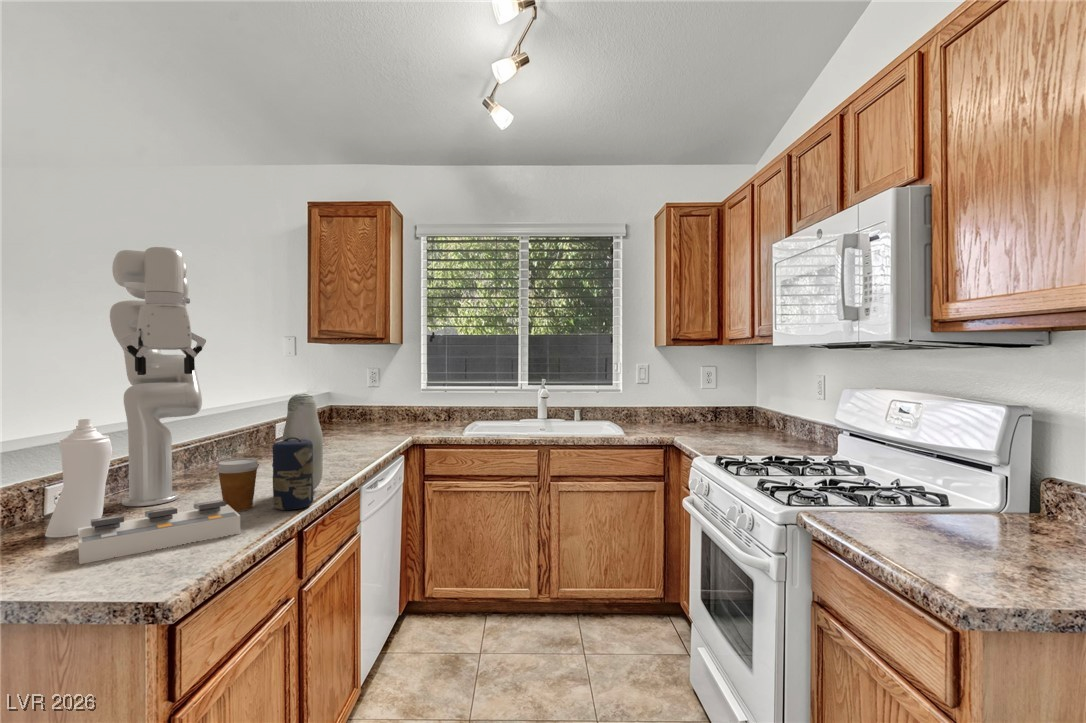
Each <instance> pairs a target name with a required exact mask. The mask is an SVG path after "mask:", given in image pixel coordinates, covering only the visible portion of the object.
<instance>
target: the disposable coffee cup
mask: <svg viewBox="0 0 1086 723" xmlns="http://www.w3.org/2000/svg"><path fill="white" fill-rule="evenodd" d="M259 467H260V464H259V463H258V460H257V459H256V458H248V457H247V458H246V457H245V458H243V457H242V458H234V459H227V460H222V461H220V462H218V464H217V467H216V471H217V473H218V478H219V485H220V490H221V497H222V501H226V505H229V506H230V507H231V508H232V509H234V510H235V511H236V512H242V511H241V510H243V511H247V510H251V508H253V506H254V494H255V487H256V480H257V479H256V478H257V472H258V468H259Z"/></svg>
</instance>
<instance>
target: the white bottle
mask: <svg viewBox="0 0 1086 723" xmlns="http://www.w3.org/2000/svg"><path fill="white" fill-rule="evenodd" d="M77 424H78V425H76V426H75V428H74V429H73V430H72V433H70V434H69V435H67V436H66V437H63V438H60V439H59V441H60V442H59V443H58V446H59V449H60V450H59V451H60V454H61V455H60V456H61V465H62V466H61V468H62V469H61V470H62V481H63V488H62V490H61V492H60V495H59V496H58V498H57V499H58V500H57V502H56V505H55V507H54V510H53V512H52V515H51V517H50V520H49V522H48V525H47V529H46V531H45V533H44V536H45V537H46V538H67V537H74V536H78V528H82V527H88V526H91V519H98V518H103V515H104V513H103V512H104V504H105V493H106V484H107V483H106V482H107V478H108V474H109V470H110V465H111V459H112V455H113V446H112V441H111V439H110V435H107V434H102V433H101V432H99V431H97V430H98V429H97V428H96V427H94V425H93V424H92V419H91V418H85V419H82V418H81V419H78V420H77Z"/></svg>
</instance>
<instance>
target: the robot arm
mask: <svg viewBox="0 0 1086 723" xmlns="http://www.w3.org/2000/svg"><path fill="white" fill-rule="evenodd" d="M111 268H112V270H111V271H112V277H113V279H114V281H115V283H117V285H118V286H120V287H123V288H126V291H127V292H128V293H129V294H130V295H131V296H133V297H134V298H137V299H141V300H134V299H133V300H132V299H131V300H130V299H129V300H122V301H118V302H116V303H114V304H113V305H112V306H111V308H110V310H109V322H110V327H111V331H112V333H113V335H114V338H115V339H116V341H117V342H118V344H119V345H120V347H121V350H122V351H123V354H124V355H123V356H124V362H125V363H124V364H125V371H126V377H127V380H128V382H129V384H130V385H131V386H130V387H128V388H127V389H125V391H124V393H123V405H124V410H125V416H126V417H125V418H126V422H127V436H128V437H127V440H128V441H127V442H128V443H127V444H128V496H126V497H124V498H122V500H121V505H122V506H125V507H146V506H156V505H161V504H165V503H170V502H173V501H175V500H177V499H179V498H180V493H179V492H178V491H173V456H172V455H173V453H172V450H173V448H172V445H173V444H172V442H173V441H172V433H171V431H170V429H169V428H168V427H167V426H166V425H165V424H164V423H162V421H161V419H166V418H180V417H181V418H182V417H191V416H195V415H197V414H198V413H199V412H200V410H201V409H202V406H203V398H202V396H203V395H202V392H201V387H200V382H199V379H198V374H197V370H196V369H197V368H196V366H195V365H196V364H195V362H196V361H195V358H196V357H197V355H198V354H199V353H200V352H202V351H203V348H204V346H205V345H206V342H207V339H206V338H203V337H202V336H199V335H197V334H195V333H193V332H192V328H191V321H190V316H189V313H188V312H189V311H188V308H187V305H188V304H190V303H191V299H190V298H189V282H188V279H187V278H186V277H187V266H186V262H184V257H183V254H182V252H181V251H180V250H178V249H176V248H172V247H166V246H153V247H147V248H146V249H145V250H134V249H133V250H131V249H123V250H120V251H118V252H117V253H116V254H115V257H114V258H113V260H112V267H111ZM193 341H195V343H196V345H195V347H193V348H192V342H193ZM163 350H165V351H166V350H167V351H168V350H170V351H171V350H172V351H173V350H174V351H175V350H176V351H177V350H180V351H181V352H182V353H183V354H163V353H162V352H161V351H163Z"/></svg>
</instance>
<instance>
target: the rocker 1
mask: <svg viewBox="0 0 1086 723" xmlns="http://www.w3.org/2000/svg"><path fill="white" fill-rule="evenodd" d="M124 521H125V516H124V515H122V514H119V515H112V516H106V517H101V518H98V519H91V526H92V527H95V526H102V525H108V524H114V523H121V522H124Z"/></svg>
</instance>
